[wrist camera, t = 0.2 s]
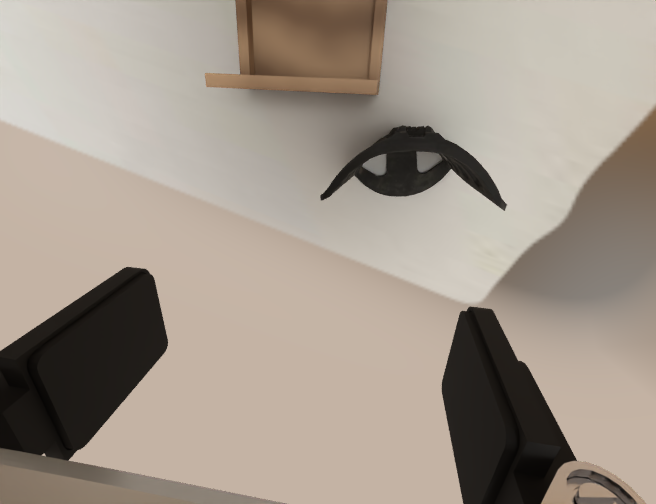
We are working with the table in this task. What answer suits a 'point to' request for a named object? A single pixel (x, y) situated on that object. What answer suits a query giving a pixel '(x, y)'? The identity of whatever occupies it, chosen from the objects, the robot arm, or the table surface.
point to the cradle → (308, 46)
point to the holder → (415, 165)
